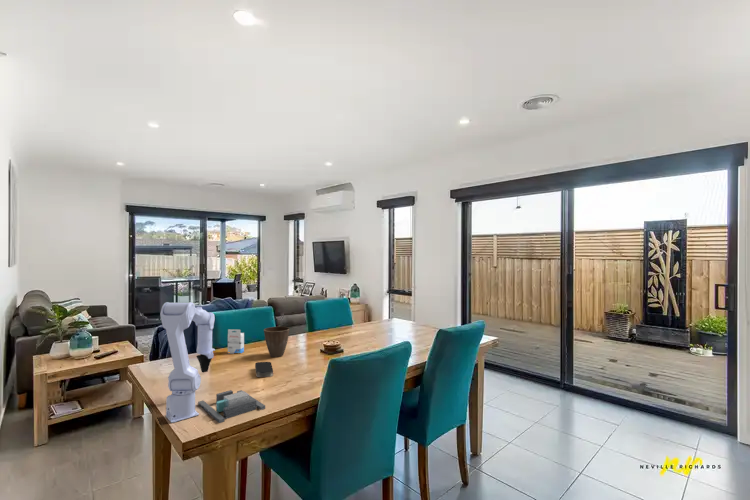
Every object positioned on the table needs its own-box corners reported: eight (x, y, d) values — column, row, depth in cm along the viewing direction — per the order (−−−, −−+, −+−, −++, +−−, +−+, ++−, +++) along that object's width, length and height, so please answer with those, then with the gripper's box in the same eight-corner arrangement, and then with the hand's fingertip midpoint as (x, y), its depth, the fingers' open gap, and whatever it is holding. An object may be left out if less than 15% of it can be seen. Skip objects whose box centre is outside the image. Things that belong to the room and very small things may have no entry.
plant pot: (258, 357, 212) (258, 330, 212) (272, 351, 226) (272, 325, 226) (280, 360, 207) (281, 332, 207) (293, 353, 221) (294, 327, 222)
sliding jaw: (218, 412, 139) (218, 403, 139) (208, 404, 146) (208, 395, 146) (248, 403, 147) (248, 394, 147) (237, 396, 154) (237, 388, 154)
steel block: (228, 416, 137) (228, 400, 137) (223, 411, 140) (223, 396, 140) (249, 409, 142) (249, 394, 142) (243, 405, 146) (243, 390, 146)
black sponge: (254, 369, 192) (254, 362, 192) (271, 367, 195) (271, 360, 195) (256, 379, 177) (256, 371, 177) (273, 377, 180) (274, 370, 180)
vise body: (219, 423, 131) (219, 413, 131) (198, 404, 146) (198, 396, 146) (265, 408, 143) (265, 399, 143) (241, 392, 159) (241, 384, 159)
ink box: (244, 351, 225) (244, 328, 225) (240, 353, 220) (240, 329, 220) (231, 351, 225) (231, 327, 226) (227, 353, 220) (227, 329, 221)
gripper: (220, 341, 153) (220, 373, 153) (208, 335, 163) (208, 365, 163) (203, 344, 148) (203, 377, 148) (191, 338, 158) (191, 369, 158)
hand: (204, 371), depth 155 cm, fingers closed
